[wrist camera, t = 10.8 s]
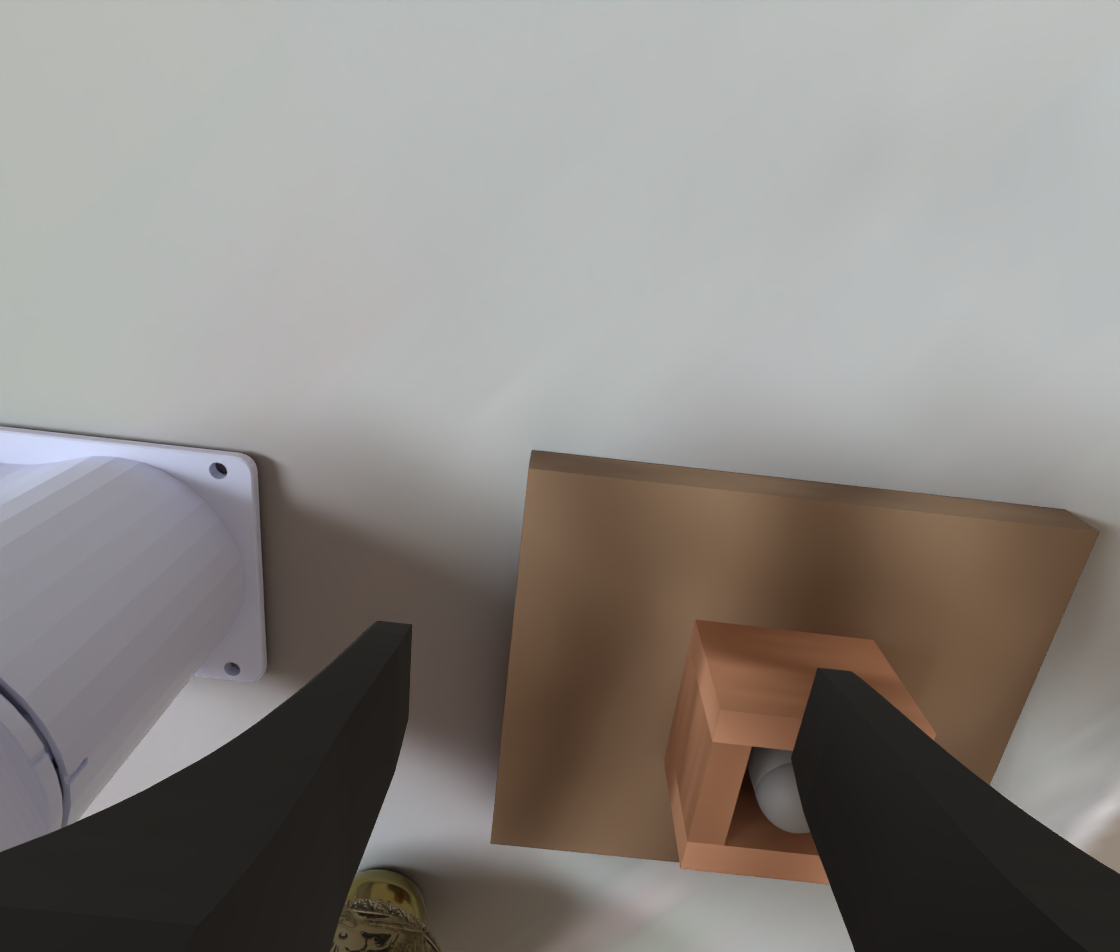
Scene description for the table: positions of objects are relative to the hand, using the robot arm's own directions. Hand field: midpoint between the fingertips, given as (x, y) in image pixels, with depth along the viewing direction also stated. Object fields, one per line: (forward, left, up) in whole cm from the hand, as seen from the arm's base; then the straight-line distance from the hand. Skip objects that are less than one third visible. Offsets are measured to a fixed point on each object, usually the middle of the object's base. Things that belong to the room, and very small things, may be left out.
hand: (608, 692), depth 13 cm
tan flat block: (+6, -6, -9) cm, 13 cm away
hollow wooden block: (+6, -6, -8) cm, 12 cm away
